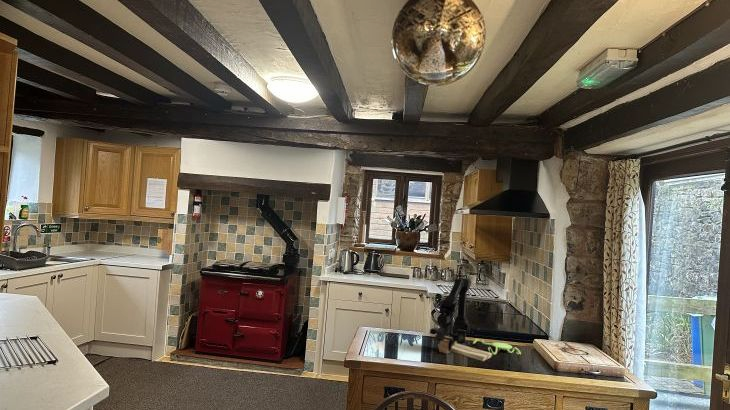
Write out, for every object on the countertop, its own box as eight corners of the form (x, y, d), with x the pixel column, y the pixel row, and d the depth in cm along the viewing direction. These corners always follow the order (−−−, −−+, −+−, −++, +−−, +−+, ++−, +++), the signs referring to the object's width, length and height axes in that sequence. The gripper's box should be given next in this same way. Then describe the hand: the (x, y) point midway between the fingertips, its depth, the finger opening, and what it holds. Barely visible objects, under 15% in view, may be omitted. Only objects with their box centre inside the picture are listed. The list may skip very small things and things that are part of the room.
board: (447, 344, 284) (447, 340, 284) (491, 356, 267) (492, 353, 267) (437, 347, 275) (438, 344, 275) (482, 361, 257) (483, 357, 257)
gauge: (451, 346, 280) (452, 336, 280) (459, 348, 277) (460, 338, 277) (438, 351, 268) (439, 340, 268) (446, 353, 264) (447, 343, 264)
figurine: (468, 347, 284) (469, 337, 284) (504, 346, 293) (505, 337, 293) (486, 357, 267) (487, 347, 267) (524, 355, 276) (525, 346, 276)
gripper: (426, 320, 268) (423, 347, 268) (455, 328, 256) (453, 356, 256) (436, 317, 277) (433, 344, 277) (465, 325, 265) (462, 352, 265)
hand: (445, 349), depth 269 cm, fingers closed on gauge, 5 cm apart
